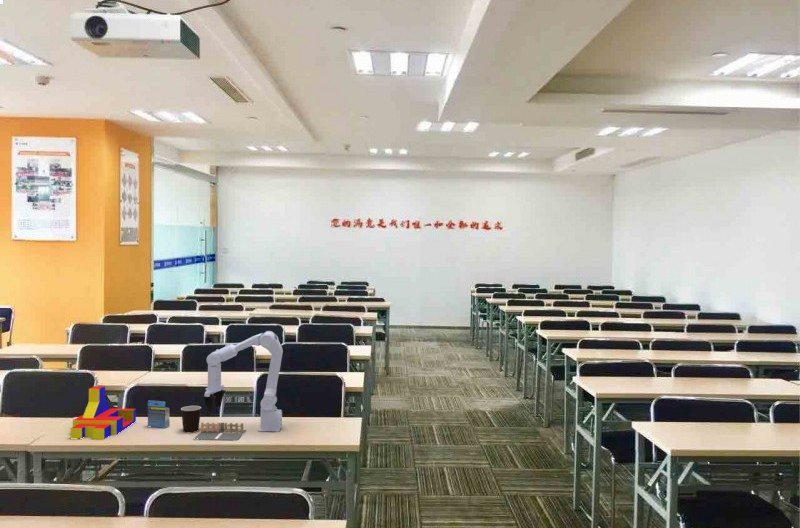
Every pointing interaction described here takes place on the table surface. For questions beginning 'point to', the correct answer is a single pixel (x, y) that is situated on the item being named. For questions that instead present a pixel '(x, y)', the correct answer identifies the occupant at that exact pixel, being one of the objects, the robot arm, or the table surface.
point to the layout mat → (219, 435)
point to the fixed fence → (224, 430)
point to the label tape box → (158, 414)
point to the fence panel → (208, 427)
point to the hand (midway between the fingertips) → (214, 408)
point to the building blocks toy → (101, 417)
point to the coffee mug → (191, 418)
